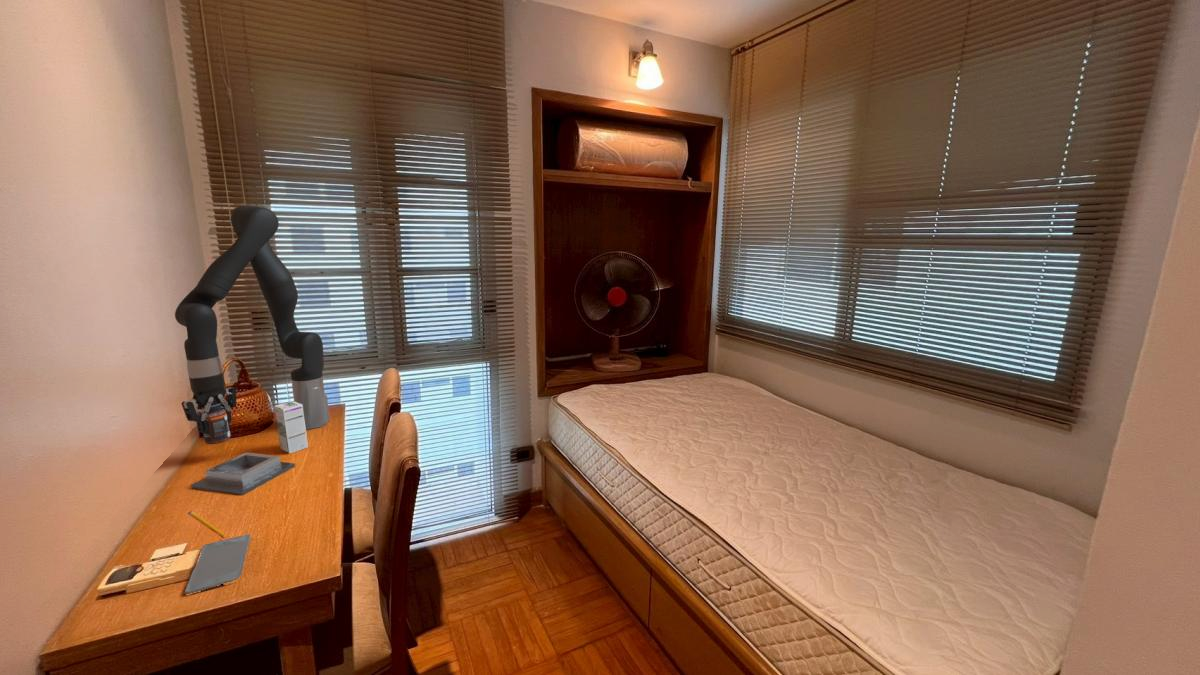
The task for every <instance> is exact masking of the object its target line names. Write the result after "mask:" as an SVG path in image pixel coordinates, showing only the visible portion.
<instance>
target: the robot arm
mask: <svg viewBox="0 0 1200 675" xmlns="http://www.w3.org/2000/svg"><path fill="white" fill-rule="evenodd" d="M230 223H231V226H232V228H233V230H234V232H235V234H236V236H237V239H236V240H235V241H234V243H232V245H231V246H230V247H229V248H228V249H227V250H226V251H224V252H223V253H222V254H220V255H219V256H218V257H217V258H216V259H215V260H214V261H212V262H211V264H210V265H209V266H208V268H206V270H205V271H204V273H203V275H202V276H201V278H200V279H199V281H198V282H197V284H196V285H195V287H194V288H193V289H192V290H191V291H189V293H188V294H187V295H186V296H185V297H184V298H183V299H181V301H180V302H179V304H178V306H177V307H176V309H175V312H174V318H175V320H176V322H177V323H178V324H179V325H180V326H183V327H185V328H186V333H187V334H186V335H187V338H186V339H185V341H184V344H183V346H184V353H185V356H186V357H185V358H186V370H187V374H188V380H189V387H190V390H191V392H192V394H193V396H192V399H189V400H188V401H186V400H185V401H184V400H183V401H182V402H181V406H182V410H183V412H184V415H185V418H186V420H187V421H188V422H196V426H197V430H198V432H199V433H200V434H203V433H207V432H208V426H207V420H205V419H206V416H207V413H208V412H209V410H210V407H211V406H213V405H216V404H219V403H220V405H221V408H222V409H224V410H225V411H226V414H227V419H228V425H229V424H231V423H232V413H231V411H232V409H233V408H236V407H237V388H236V387H230V386H227V387H225V386H226V383H225V377H224V371H223V365H222V361H221V358H220V356H219V355H220V354H219V349H218V348H219V347H218V342H217V337H218V318H217V315H216V312H215V311H214V309H213V308H214V307H215V305H216V304H217V303H218V302H220V301H222V300H224V299H225V298H226V297H228V295H229V293H230V291H231V290H232V288H233V287H234V285H235V283H236V282H237V280H238V278H239V277H240V276H241V274H242V273H243V271H244V270H245V269H246V267H247V266H248V265H249V264H250V265H251V268H252V270H253V272H254V275H255V277H256V280H257V282H258V285H259V288H260V291H261V293H262V295H263V298H264V301H265V303H266V305H267V307H268V311H269V313H270V316H271V318H272V321H273V323H274V326H275V332H276V335H277V340H278V342H279V343H278V344H279V345H280V349H281V351H282V353H283V354H284V356H286V357H287V358H289V359H297V360H298V359H299V360H300V359H301V366H300V367H298V368H295V369H292V370H291V371H290V380H291V387H292V388H291V389H292V396H293V401H294V402H297V403H300V404H302V405H303V413H304V420H305V427H306V430H313V429H318V428H320V427H324V426H326V425H327V424H328V422H330V420H331V419H330V412H329V402H328V396H327V395H326V394H325V393H326V392H325V385H324V378H323V371H324V365H325V364H324V363H325V362H324V344H323V340H322V338H321V336H320V335H319V334H318V333H317V332H313V331H299V328H298V326H297V323H296V321H295V320H296V319H295V316H294V315H295V310H296V308H297V304H298V300H299V292H298V290H297V287H296V284H295V281H294V278H293V276H292V274H291V272H290V270H289V269H288V268H287V267H286V266H285V264H284V263H283V262H282V260H281V259H280V258H279V257H278V256H277V254H276V253H275V251H274V250H273V248H272V246H271V243H270V240H271V239H272V238H273V236H274V235H275V234H276V233H277V231H278V229H279V224H280V223H279V219H278V216H277V215H276V213H274V211H272V210H271V209H269V208H267V207H262V206H253V205H238V206H237V207H235V208H234V209H233V210H232V212H231V215H230ZM203 408H204V409H203Z"/></svg>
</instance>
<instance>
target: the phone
mask: <svg viewBox="0 0 1200 675" xmlns="http://www.w3.org/2000/svg"><path fill="white" fill-rule="evenodd" d="M250 537H251V535H250V534H244V535H239V536H236V537H231V538H227V539H226V538H225V539H223V540H219V541H214V542H210V543H207V544H204V545H203V546H202V547H201V550H200V552H199V554H200V553H201V554H200V555H201V556H200V558H199V561H198V563H197V564H196V563H195V564H196V567H195V566H194V567H195V569H194V568H193V569H194V570H193V569H192V572H191V574H190V577H189V580H188V582H187V585H186V587H185V589H184V594H190V593H194V592H198V591H201V590H202V591H205V590H206V589H207V590H209V589H208V588H211V587H214V586H217V585H221V584H223V583H227V582H231V581H233V580H236V579H238V578H239V577H240V576H241V573H242V574H243V572H242V569H243V570H244V568H243V565H244V566H245V564H244V561H245V562H246V560H245V557H246V558H247V556H246V553H247V554H248V552H247V549H248V550H249V547H248V545H249V546H250V543H251V539H250ZM249 542H250V543H249ZM241 577H242V576H241ZM223 585H224V584H223ZM221 586H222V585H221ZM214 588H215V587H214ZM211 589H212V588H211Z"/></svg>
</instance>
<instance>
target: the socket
mask: <svg viewBox="0 0 1200 675" xmlns="http://www.w3.org/2000/svg"><path fill="white" fill-rule="evenodd" d="M291 468H292V469H293V468H296V463H293V462H286V461H281V457H280V455H279V456H278V455H273V454H265V453H264V454H263V453H256V452H255V453H254V452H243V453H241V454H239V455H237V456H235V457H233V458H231V459H228V460H226V461H224V462H222V463H220V464H217V465H216V466H213V467H210V468H208V469H206V470H205V475H206V477H205V478H204V477H203V479H200V480H198V481H196V482H194V483H191V485H190V486H191V489H195V490H203V491H209V492H215V493H218V492H219V493H223V494H225V493H226V494H232V495H240V496H244V495H246V494H248V493H249V492H251V491H253V490H255V489H257V488H259V487H260V486H263V485H264V484H266V483H268V482H269V480H270V481H271V480H274V479H275V478H277V477H279V476H280V474H281V475H282V474H285V473H286V472H288V471H290V470H291ZM289 469H290V470H289ZM267 481H268V482H267ZM258 486H259V487H258ZM256 487H257V488H256Z"/></svg>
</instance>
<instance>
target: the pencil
mask: <svg viewBox="0 0 1200 675" xmlns="http://www.w3.org/2000/svg"><path fill="white" fill-rule="evenodd" d="M188 515H190V516H191V517H193V518H195V519H196V520H197V521H198V522H200V523H202V524H203V526H204V525H205V526H206V527H207V528H209V527H210V528H211V529H210V528H209V529H210V530H212V529H213V530H215V531H216V532H218V533H220V534H222V536H228V537H229V535H228V534H226V533H225V532H223V531H222V530H221V529H219V528H218V527H216V526H214V525H213V524H211V523H210V522H208V521H207V520H205V519H204V518H203V517H201V516H200V515H198V514H196V513H195V512H194V511H192V510H190V511H189V512H188ZM213 530H212V531H213ZM215 531H214V532H215ZM216 532H215V533H216ZM222 536H221V537H222Z"/></svg>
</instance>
